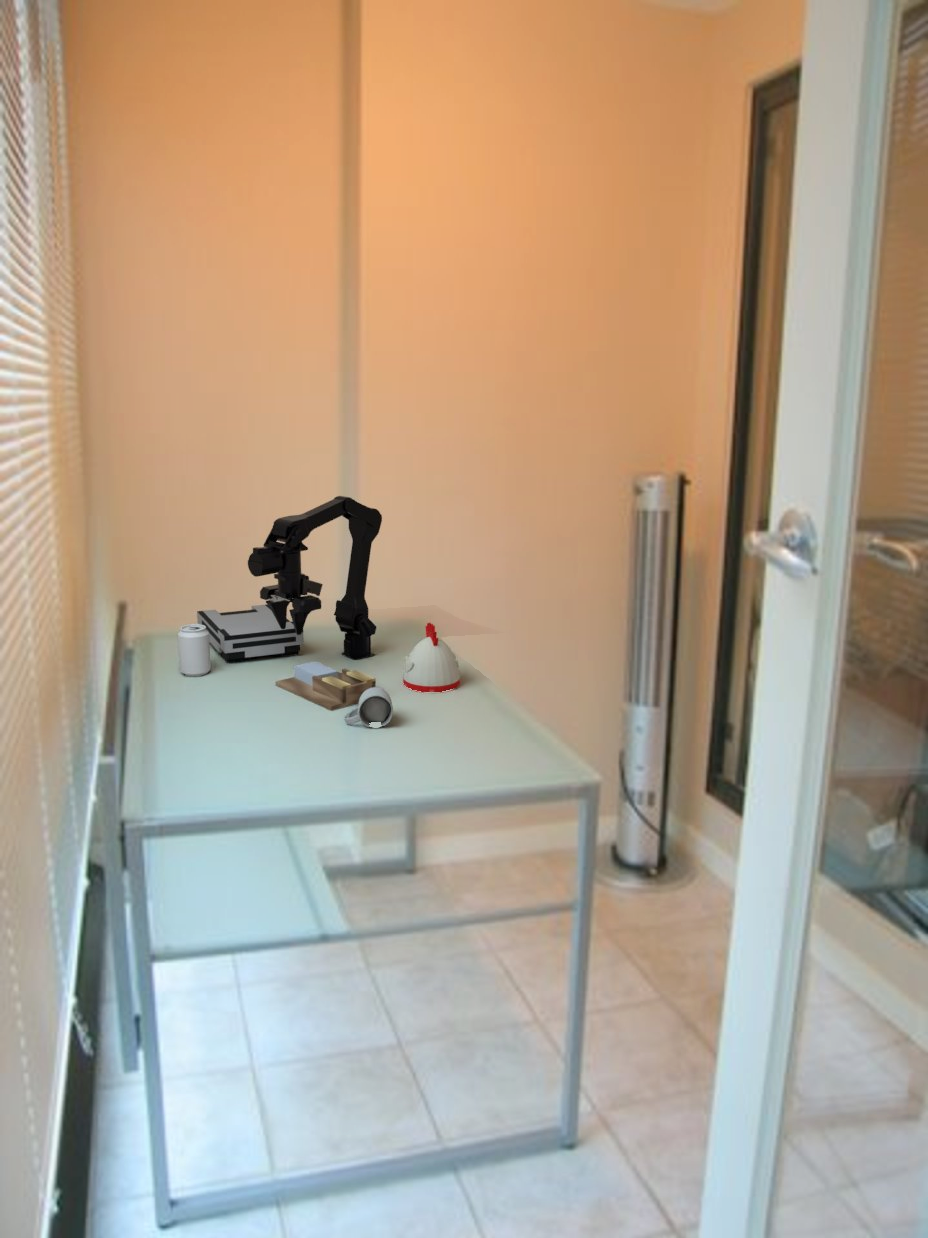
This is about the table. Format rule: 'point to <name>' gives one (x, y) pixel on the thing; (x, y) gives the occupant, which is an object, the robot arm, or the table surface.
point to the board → (331, 688)
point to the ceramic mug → (372, 708)
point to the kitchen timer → (431, 665)
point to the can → (194, 650)
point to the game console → (249, 634)
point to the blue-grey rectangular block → (313, 671)
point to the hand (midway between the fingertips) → (291, 631)
